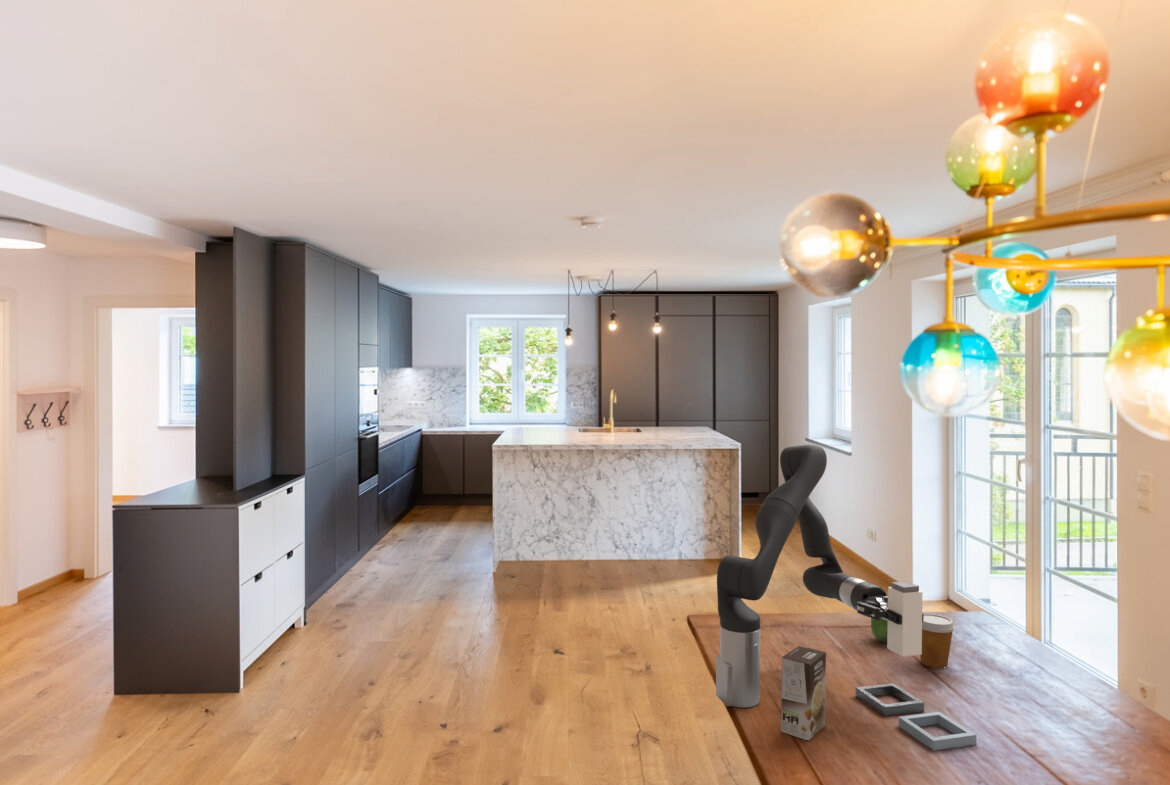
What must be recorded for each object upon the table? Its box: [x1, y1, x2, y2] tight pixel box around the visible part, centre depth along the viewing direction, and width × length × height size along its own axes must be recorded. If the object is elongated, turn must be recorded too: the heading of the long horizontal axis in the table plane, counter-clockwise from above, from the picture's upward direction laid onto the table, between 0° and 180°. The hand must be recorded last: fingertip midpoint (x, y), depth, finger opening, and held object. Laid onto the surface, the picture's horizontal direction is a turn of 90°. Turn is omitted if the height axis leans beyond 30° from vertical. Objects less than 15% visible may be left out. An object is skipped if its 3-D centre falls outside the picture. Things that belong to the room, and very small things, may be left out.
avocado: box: [870, 618, 888, 644], centre depth 200 cm, size 8×8×12 cm
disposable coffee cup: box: [919, 613, 956, 669], centre depth 184 cm, size 10×10×12 cm
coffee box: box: [780, 645, 827, 741], centre depth 149 cm, size 9×6×16 cm
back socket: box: [855, 682, 925, 717], centre depth 161 cm, size 10×10×2 cm
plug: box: [886, 580, 923, 658], centre depth 157 cm, size 5×5×15 cm
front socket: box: [898, 711, 977, 751], centre depth 147 cm, size 10×10×2 cm
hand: (911, 619), depth 155 cm, fingers closed on plug, 5 cm apart
